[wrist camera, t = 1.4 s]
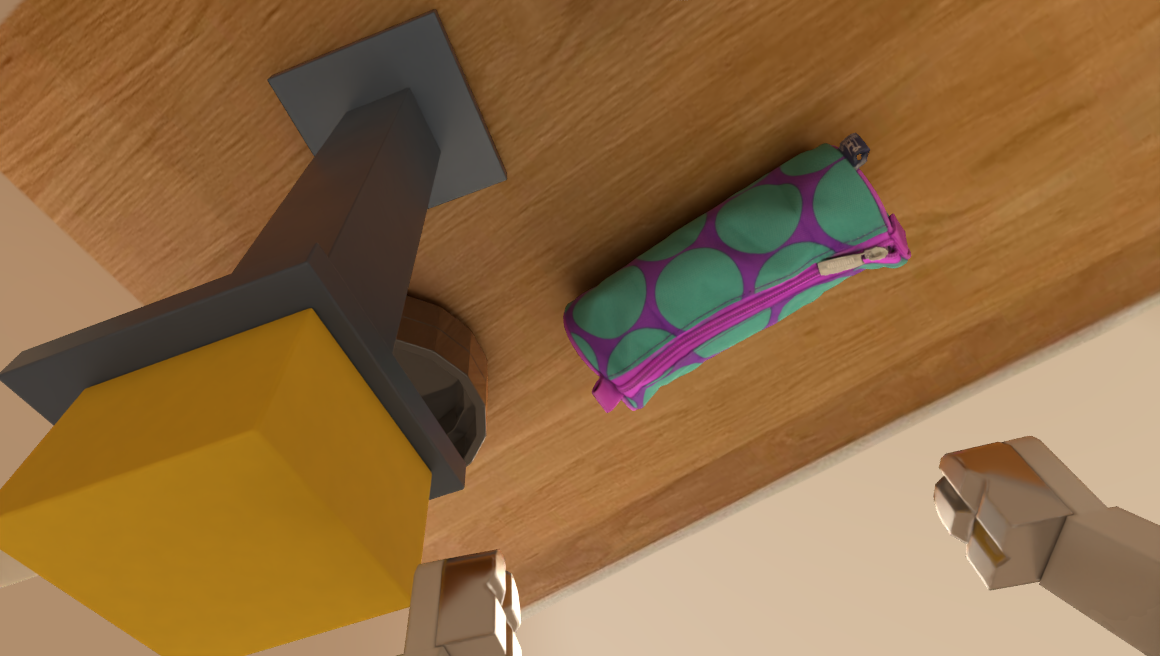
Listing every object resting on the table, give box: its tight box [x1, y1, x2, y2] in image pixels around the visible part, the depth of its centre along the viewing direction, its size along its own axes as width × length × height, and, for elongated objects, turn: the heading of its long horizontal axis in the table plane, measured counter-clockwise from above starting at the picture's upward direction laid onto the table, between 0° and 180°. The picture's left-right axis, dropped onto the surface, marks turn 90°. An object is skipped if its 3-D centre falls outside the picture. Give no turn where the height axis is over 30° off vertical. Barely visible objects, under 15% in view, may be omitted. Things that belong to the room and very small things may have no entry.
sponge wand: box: [0, 308, 432, 656], centre depth 15 cm, size 19×6×4 cm, turn 109°
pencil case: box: [563, 133, 911, 413], centre depth 40 cm, size 21×9×10 cm, turn 125°
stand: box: [0, 9, 507, 500], centre depth 27 cm, size 10×10×26 cm
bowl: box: [392, 295, 488, 467], centre depth 45 cm, size 14×14×6 cm
